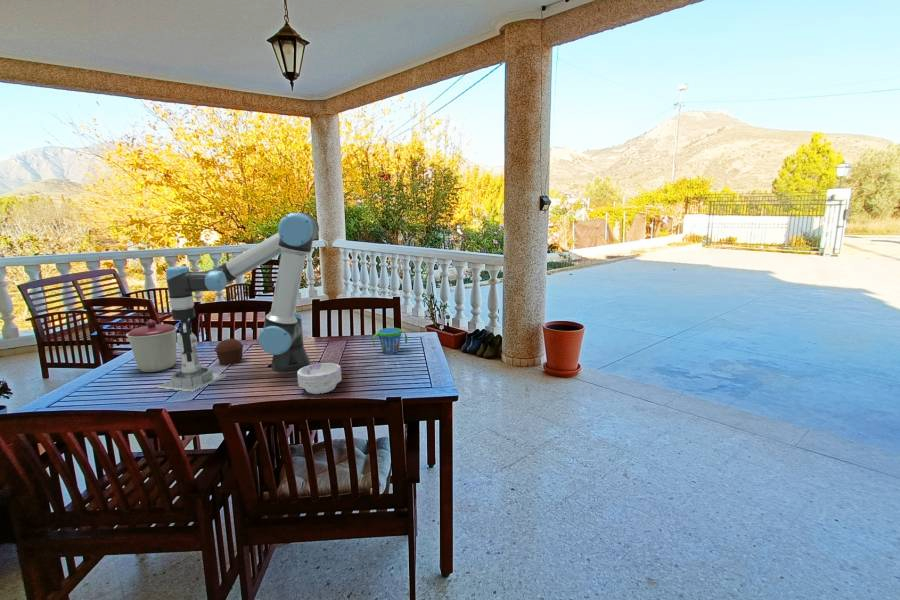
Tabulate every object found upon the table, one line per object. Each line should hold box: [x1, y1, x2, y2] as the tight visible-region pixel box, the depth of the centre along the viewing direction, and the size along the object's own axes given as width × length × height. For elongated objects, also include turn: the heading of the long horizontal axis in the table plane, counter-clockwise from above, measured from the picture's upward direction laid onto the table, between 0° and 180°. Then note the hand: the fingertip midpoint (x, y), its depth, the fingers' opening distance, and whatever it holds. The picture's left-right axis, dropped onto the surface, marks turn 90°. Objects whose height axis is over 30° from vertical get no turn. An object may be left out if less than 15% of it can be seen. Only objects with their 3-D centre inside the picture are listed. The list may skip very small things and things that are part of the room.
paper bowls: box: [296, 362, 342, 395], centre depth 160 cm, size 15×15×8 cm
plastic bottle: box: [176, 328, 202, 377], centre depth 169 cm, size 6×7×20 cm
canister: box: [125, 319, 179, 373], centre depth 186 cm, size 18×18×21 cm
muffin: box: [214, 338, 244, 366], centre depth 194 cm, size 12×11×10 cm
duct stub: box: [157, 365, 227, 393], centre depth 170 cm, size 16×16×4 cm
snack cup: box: [372, 327, 408, 354], centre depth 202 cm, size 16×10×10 cm
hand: (191, 366), depth 170 cm, fingers closed on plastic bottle, 6 cm apart
